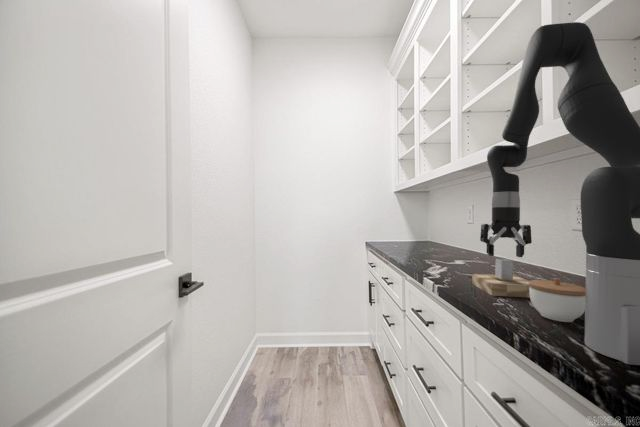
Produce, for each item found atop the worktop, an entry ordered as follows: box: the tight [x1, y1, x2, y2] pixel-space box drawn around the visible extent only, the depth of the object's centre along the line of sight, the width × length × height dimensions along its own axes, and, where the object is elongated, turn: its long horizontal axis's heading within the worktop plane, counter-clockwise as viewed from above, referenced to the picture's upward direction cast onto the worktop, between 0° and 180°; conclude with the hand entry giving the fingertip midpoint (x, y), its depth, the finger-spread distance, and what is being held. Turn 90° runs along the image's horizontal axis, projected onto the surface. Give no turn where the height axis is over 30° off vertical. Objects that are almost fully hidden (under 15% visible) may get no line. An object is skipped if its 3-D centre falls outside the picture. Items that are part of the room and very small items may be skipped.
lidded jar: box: [528, 277, 585, 323], centre depth 65 cm, size 11×11×9 cm
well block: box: [471, 273, 530, 298], centre depth 88 cm, size 14×14×4 cm
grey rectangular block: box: [494, 258, 514, 282], centre depth 88 cm, size 4×4×10 cm
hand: (505, 256), depth 87 cm, fingers open, 8 cm apart
